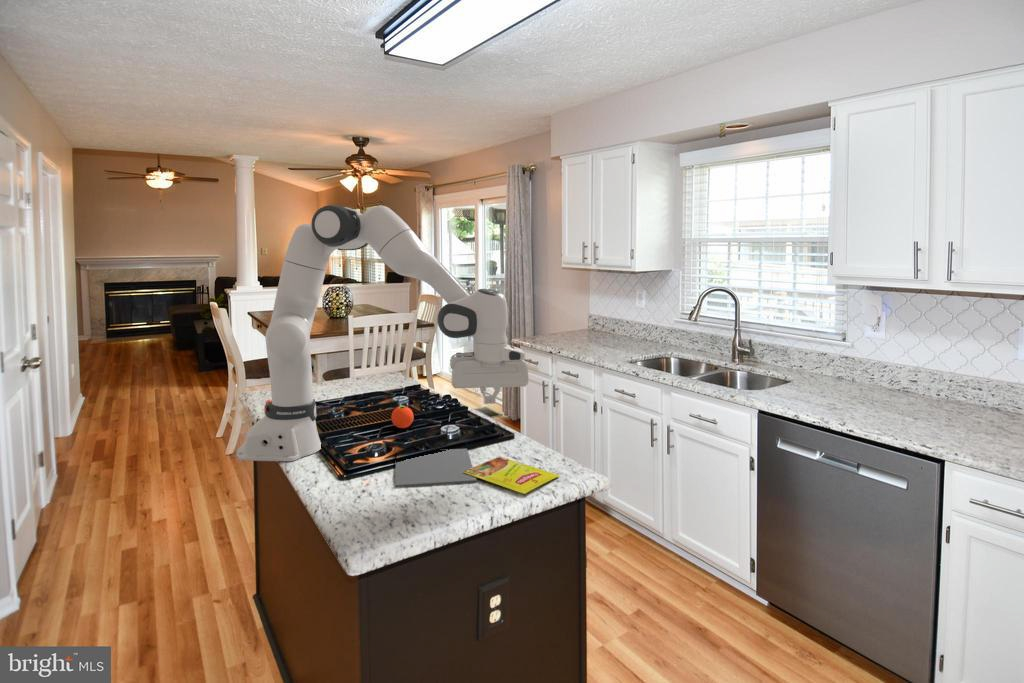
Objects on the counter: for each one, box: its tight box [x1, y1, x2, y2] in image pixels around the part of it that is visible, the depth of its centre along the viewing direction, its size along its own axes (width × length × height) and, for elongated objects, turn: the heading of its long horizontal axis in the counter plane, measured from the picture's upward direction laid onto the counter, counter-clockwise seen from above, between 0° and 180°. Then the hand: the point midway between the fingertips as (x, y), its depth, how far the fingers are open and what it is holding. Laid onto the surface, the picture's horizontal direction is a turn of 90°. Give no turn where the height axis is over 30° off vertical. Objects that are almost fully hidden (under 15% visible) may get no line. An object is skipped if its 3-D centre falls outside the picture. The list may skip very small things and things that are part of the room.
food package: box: [463, 456, 561, 494], centre depth 160 cm, size 15×1×20 cm
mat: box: [394, 448, 477, 488], centre depth 165 cm, size 20×22×1 cm
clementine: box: [390, 405, 415, 429], centre depth 196 cm, size 8×7×7 cm
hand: (489, 403), depth 164 cm, fingers closed
